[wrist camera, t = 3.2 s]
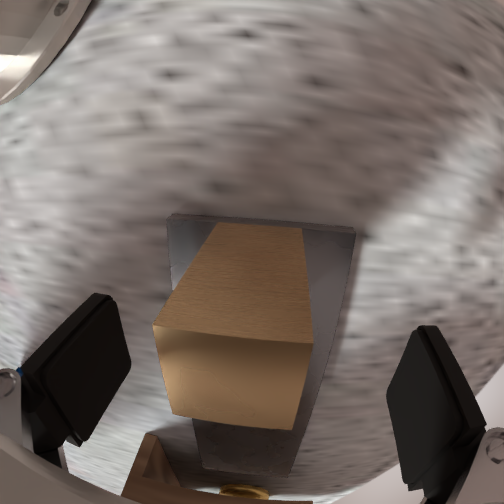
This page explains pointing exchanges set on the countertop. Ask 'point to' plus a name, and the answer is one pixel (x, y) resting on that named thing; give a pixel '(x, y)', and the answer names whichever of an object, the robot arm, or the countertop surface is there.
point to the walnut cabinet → (171, 482)
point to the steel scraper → (250, 333)
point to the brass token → (244, 491)
